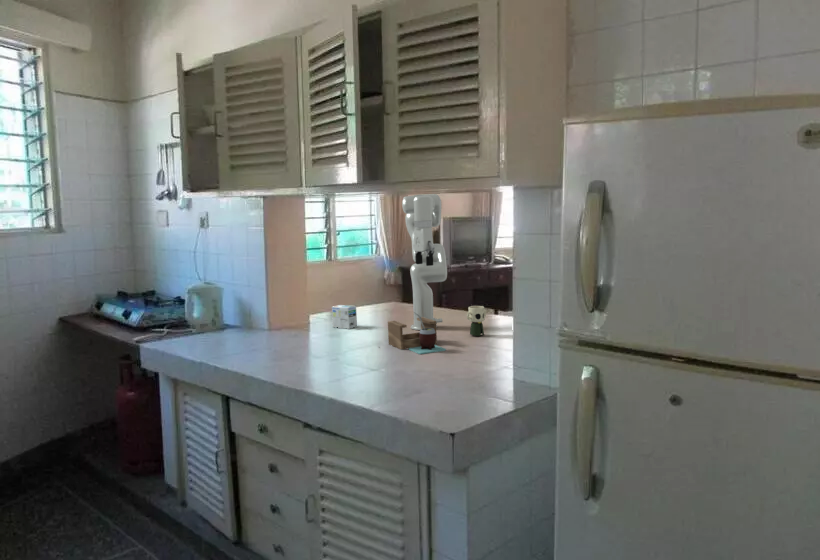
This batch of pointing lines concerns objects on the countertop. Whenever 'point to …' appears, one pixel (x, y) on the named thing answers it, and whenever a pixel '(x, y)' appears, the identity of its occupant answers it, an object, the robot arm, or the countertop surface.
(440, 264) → the robot arm
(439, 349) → the teal mat
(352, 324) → the light bulb box
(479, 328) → the character mug
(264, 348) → the countertop surface
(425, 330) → the mate gourd
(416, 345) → the walnut box
